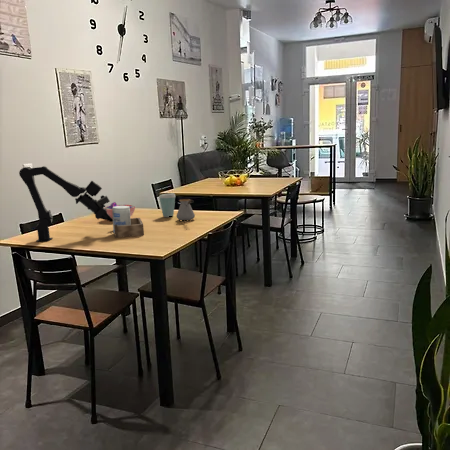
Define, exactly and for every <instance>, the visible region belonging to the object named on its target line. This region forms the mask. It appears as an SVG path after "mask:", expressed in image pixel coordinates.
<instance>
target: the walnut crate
mask: <svg viewBox="0 0 450 450" xmlns="http://www.w3.org/2000/svg"><path fill="white" fill-rule="evenodd" d="M130 219H131V225H125V226H117V225H114V230H115V233H114V239H118V238H128V237H140V236H144V235H145V233H144V232H145V231H144V222H143V221H142V219H141V217H132V218H131V217H130Z"/></svg>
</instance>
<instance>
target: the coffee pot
mask: <svg viewBox="0 0 450 450" xmlns="http://www.w3.org/2000/svg"><path fill="white" fill-rule="evenodd" d="M178 201H179V202H180V204H179V208H178V210H177V213H176V219H178V220H179V221H180V220H191V219H192V220H193V219H194V218H195V215H196V214H195V212H194V210H193V208H192V205H191V204H192V203H194V200H193V199H190V198H181V199H179V200H178ZM192 220H191V221H192Z"/></svg>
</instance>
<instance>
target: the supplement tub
mask: <svg viewBox="0 0 450 450" xmlns="http://www.w3.org/2000/svg"><path fill="white" fill-rule="evenodd" d="M112 214H113V221H112V229H113V230H112V232H113V234H115V230H114V225H117V226H125V225H131V219H130V218H131V217H130V207H129V206H115V207H113V210H112Z"/></svg>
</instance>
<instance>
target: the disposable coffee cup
mask: <svg viewBox="0 0 450 450" xmlns="http://www.w3.org/2000/svg"><path fill="white" fill-rule="evenodd" d="M158 198H159V204H160V209H161V213H162V216H164V217H163V218H170V217H169V216H173V217H174V215H175V203H176V194H175V192H174V193H163V194H160V195H159V196H158Z"/></svg>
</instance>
